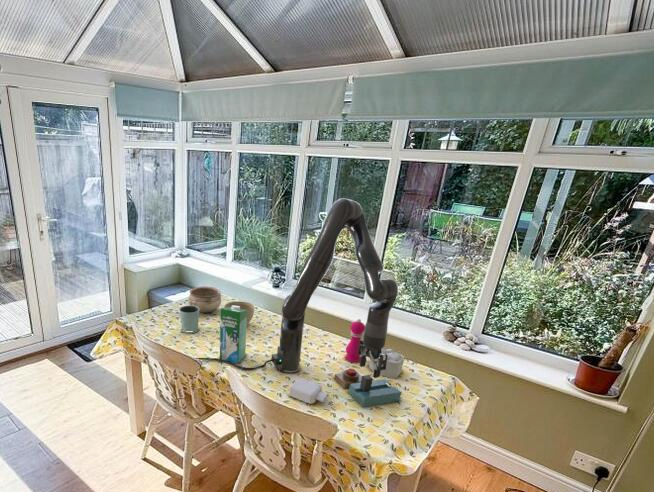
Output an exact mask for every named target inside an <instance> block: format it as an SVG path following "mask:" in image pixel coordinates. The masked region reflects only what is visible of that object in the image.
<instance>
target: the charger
mask: <svg viewBox="0 0 654 492" xmlns="http://www.w3.org/2000/svg"><path fill="white" fill-rule="evenodd" d="M288 394H289V397H292V398H294V399H296V400H300V401H302V402H305V403H307V404H309V405H311V404H315V403H316V401H319V402H321V403H325V402H326V401H327V402H331V400H333V398H332V397H331V396H329V395H330V394H329V393H327V392H324V391H323V386H322V385H321V384H319V383H318V382H317V383H316V382H314V381H311V380H308V379H306V378H303V377H298V379H297V380H295V381H294V382H293V383H292V384H291V385H290V387H289V393H288Z"/></svg>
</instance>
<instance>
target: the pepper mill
mask: <svg viewBox="0 0 654 492" xmlns="http://www.w3.org/2000/svg"><path fill="white" fill-rule="evenodd" d="M350 330H351V331H350V336H351V338H350V341H349V342H348V344H347V345H346V346H345V347H346V348H345V352H346V354H345V360H347V361H348V362H351V363H358V362H359V363H360V355H359V354H357V350H358V345H359V340H362V337H363V335H364V331H365V324H364V323H363V322H362V319H360V318H357V319H356V321H354V322H352V323H351V324H350ZM361 350H362V349H361ZM361 350H360V351H361Z"/></svg>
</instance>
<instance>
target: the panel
mask: <svg viewBox="0 0 654 492" xmlns="http://www.w3.org/2000/svg"><path fill="white" fill-rule="evenodd" d="M347 371H348V369H345V370H343V372H340V373H339V372H338V373H335V374H334V380H335V381H336V382H338V384H339V385H341V386H342V388H343V389H349V388H350V384H353V383H360V382H361V379H362V376H363V375H361V374H360V372H358V371H357V370H356V374H355V376H350V375H348V374H347Z"/></svg>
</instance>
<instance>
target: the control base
mask: <svg viewBox="0 0 654 492" xmlns="http://www.w3.org/2000/svg"><path fill="white" fill-rule="evenodd" d="M360 385H361V382H360V383H353V384H350V388H348V394H350V395H351V396H352V397H353V398H354V399H355V400H356V402H357V403H358V404H359V405H360V406H362V407H363V408H366V407H371V406H376V405H382V404H389V403H394V402H400V401H401V397H402V391H401V390H400V389H399V388H397V387H396V386H392V383H391V382H390V381H388V380H387V379H386V378H379V379H374V380H372V385H371V390H369V391H366V392H362V391H361V387H360Z"/></svg>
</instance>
